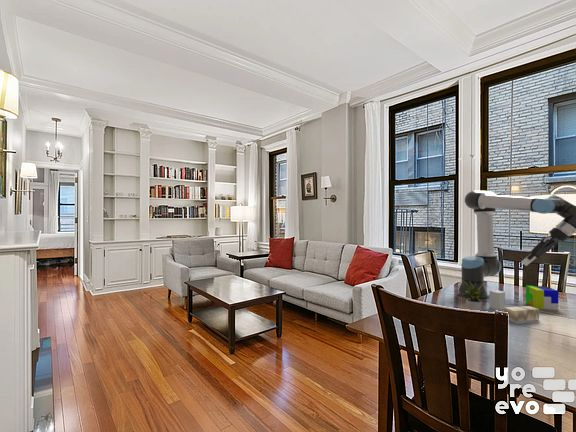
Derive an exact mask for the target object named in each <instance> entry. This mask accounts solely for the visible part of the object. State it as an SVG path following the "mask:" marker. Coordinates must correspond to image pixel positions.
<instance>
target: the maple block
mask: <svg viewBox="0 0 576 432" xmlns="http://www.w3.org/2000/svg"><path fill="white" fill-rule="evenodd" d="M503 312H508V314H509V320H511V321H510V322H512V321H513V323H514V321H528V320H537V321H540V309H537V308H534V307H532V306H530V305H527V306H526V305H525V306H524V305H522V306H510V307H509V306H508V307H506V306H505V308H504V309H503ZM509 320H508V321H509Z"/></svg>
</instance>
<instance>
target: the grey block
mask: <svg viewBox="0 0 576 432" xmlns="http://www.w3.org/2000/svg"><path fill="white" fill-rule="evenodd" d="M488 294H489V295H488V297H489V299H488V301H489V302H488V303H489V305H488V307H489V309H493V310H497V311H502V310H503V311H504V308H505V307H506V292H505V291H503V290H497V289H493V290H489V291H488Z"/></svg>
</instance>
